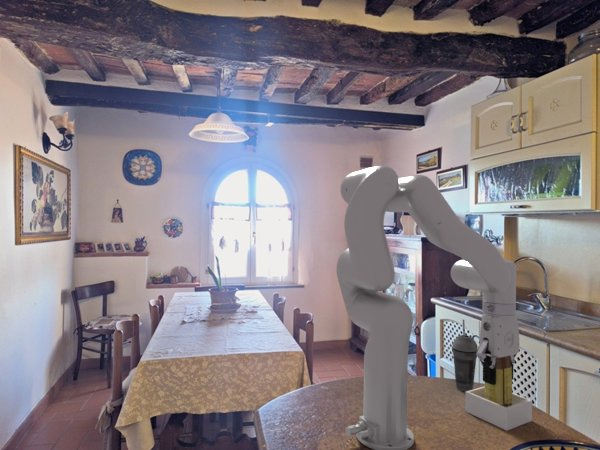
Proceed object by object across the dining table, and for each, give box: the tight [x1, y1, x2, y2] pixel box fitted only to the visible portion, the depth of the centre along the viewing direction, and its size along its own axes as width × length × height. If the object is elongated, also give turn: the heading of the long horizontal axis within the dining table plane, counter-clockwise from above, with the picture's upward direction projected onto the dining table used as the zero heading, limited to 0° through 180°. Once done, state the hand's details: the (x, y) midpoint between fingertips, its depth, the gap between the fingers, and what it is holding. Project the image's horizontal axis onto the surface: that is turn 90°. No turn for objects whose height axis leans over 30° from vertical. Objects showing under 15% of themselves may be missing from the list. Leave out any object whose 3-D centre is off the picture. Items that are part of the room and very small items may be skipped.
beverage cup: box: [451, 319, 479, 392], centre depth 117 cm, size 7×7×20 cm
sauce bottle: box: [484, 352, 513, 407], centre depth 100 cm, size 7×6×20 cm
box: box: [464, 385, 533, 431], centre depth 100 cm, size 10×11×5 cm
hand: (498, 379), depth 100 cm, fingers closed on sauce bottle, 6 cm apart
